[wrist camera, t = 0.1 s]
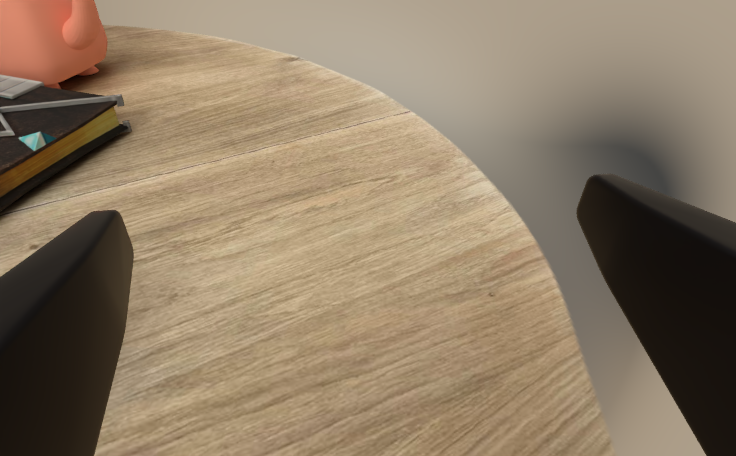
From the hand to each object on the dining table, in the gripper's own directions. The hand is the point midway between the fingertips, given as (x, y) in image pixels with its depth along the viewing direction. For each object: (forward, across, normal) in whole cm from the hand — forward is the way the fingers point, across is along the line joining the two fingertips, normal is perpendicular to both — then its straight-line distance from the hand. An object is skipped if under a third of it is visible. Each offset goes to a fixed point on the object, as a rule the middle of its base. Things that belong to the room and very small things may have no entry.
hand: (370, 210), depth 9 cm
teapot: (+48, +26, +15) cm, 56 cm away
